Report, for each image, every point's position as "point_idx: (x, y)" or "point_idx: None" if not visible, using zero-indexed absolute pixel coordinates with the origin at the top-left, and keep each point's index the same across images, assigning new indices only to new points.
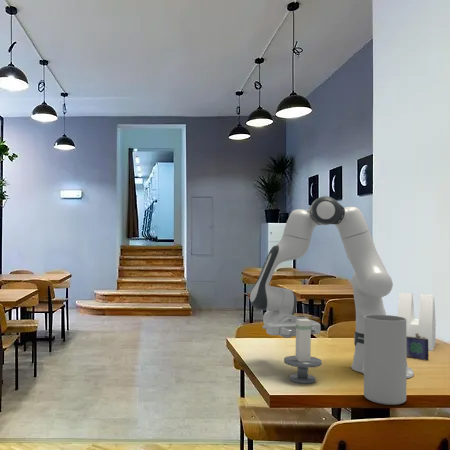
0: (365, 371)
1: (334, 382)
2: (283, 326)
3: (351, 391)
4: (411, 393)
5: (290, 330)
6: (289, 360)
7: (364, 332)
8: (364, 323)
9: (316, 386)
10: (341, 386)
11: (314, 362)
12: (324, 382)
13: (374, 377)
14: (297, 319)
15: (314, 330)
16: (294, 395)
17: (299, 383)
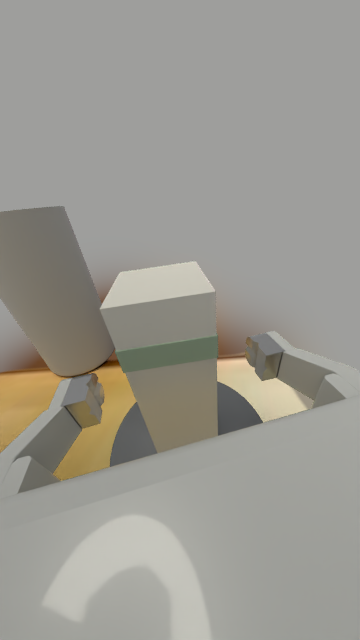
0: (101, 315)
1: (105, 447)
2: (356, 397)
3: (112, 381)
4: (16, 378)
5: (256, 335)
6: (245, 426)
7: (68, 247)
8: (58, 224)
9: None
10: (110, 411)
11: None
12: None
13: None
14: (205, 278)
15: (80, 378)
16: (226, 356)
17: None
